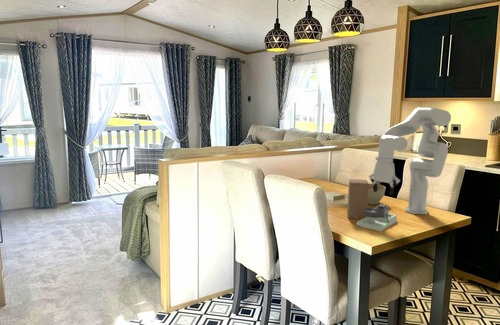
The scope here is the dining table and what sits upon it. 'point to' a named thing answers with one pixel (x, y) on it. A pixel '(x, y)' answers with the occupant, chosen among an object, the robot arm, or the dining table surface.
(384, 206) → the block
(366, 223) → the chassis
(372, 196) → the planter bowl
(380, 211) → the faceted grey bowl
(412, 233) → the dining table surface
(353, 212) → the wooden block
